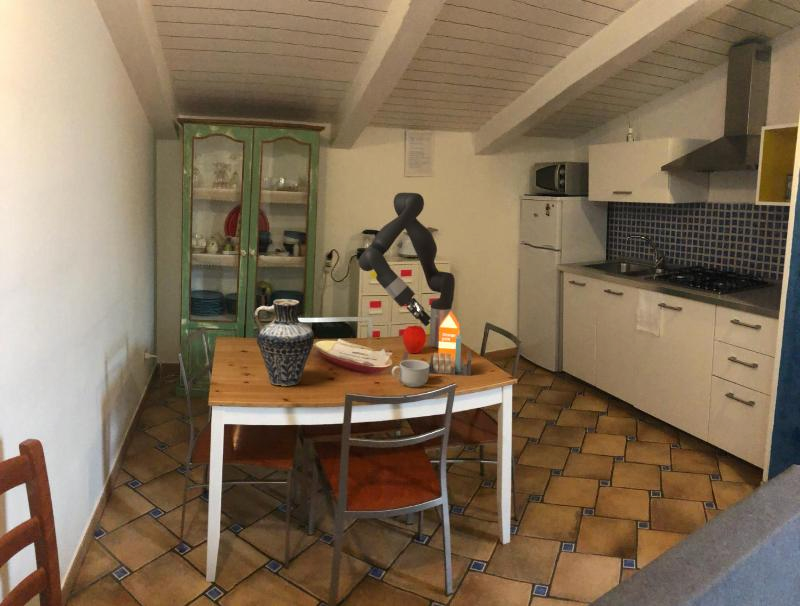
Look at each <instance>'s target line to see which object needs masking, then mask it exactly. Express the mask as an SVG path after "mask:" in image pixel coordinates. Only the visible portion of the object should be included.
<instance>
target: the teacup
mask: <svg viewBox="0 0 800 606" xmlns="http://www.w3.org/2000/svg"><path fill="white" fill-rule="evenodd" d="M429 367H430V366H429V364H428V362H426V361H424V360H419V359H408V360H404V361H402V360H401V361H400V363H399V365H395V366H393V368H392V369H391V374H392V376H393V378H396V379H398V381H399V382H401V383H403V385H404V386H406V387H409V388H420V387H423V385H425V384H426V383H428V380H429ZM397 370H399V375H397V374H396V371H397Z"/></svg>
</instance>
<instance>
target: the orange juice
mask: <svg viewBox="0 0 800 606" xmlns="http://www.w3.org/2000/svg"><path fill="white" fill-rule="evenodd" d="M456 335H460V323H459V322H458V320H457V317H456V316H455V314H454V313H453V312H452V311H450V312H449V314H448V315H447V316H446V318H445V319H444V320H443V321H442V323H441V325H440V328H439V348H438V353H439V359H440V353H445V360H446V353H448V354H451V362H452V357H454V362H455V349H456Z"/></svg>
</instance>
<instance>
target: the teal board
mask: <svg viewBox="0 0 800 606" xmlns="http://www.w3.org/2000/svg"><path fill="white" fill-rule="evenodd" d="M461 351H462V335H460V334H459V335H456V349H455V361H454V365H455V372H460V365H461V358H462V357H461V356H462V355H461V354H462V352H461Z"/></svg>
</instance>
